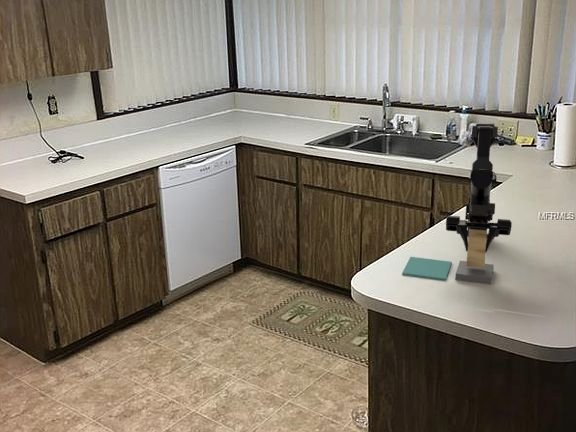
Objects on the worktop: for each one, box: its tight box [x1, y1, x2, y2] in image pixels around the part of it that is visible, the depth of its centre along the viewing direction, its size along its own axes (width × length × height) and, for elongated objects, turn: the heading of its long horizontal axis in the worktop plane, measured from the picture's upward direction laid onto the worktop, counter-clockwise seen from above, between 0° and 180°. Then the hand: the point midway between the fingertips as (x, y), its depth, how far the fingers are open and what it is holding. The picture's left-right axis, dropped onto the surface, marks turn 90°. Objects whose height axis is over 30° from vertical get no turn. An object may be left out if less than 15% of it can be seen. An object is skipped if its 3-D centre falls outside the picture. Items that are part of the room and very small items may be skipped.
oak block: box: [466, 229, 488, 268], centre depth 188 cm, size 5×5×10 cm
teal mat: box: [401, 256, 452, 281], centre depth 196 cm, size 13×13×1 cm
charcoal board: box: [454, 260, 494, 285], centre depth 191 cm, size 10×10×2 cm
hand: (476, 251), depth 187 cm, fingers closed on oak block, 5 cm apart
